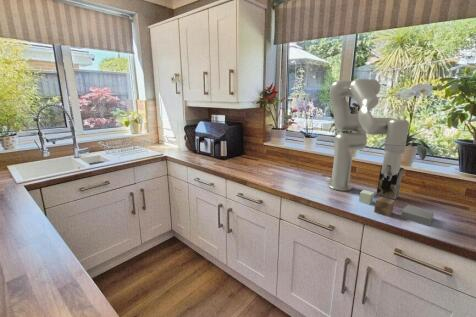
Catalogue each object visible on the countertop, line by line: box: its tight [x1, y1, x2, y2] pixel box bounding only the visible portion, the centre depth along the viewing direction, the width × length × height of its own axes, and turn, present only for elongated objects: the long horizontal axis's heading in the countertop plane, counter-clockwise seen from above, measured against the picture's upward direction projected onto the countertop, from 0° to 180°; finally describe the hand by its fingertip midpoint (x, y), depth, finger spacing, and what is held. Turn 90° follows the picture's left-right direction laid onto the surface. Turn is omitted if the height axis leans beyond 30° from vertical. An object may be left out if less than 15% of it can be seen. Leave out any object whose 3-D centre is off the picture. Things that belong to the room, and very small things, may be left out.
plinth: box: [400, 204, 435, 227], centre depth 110 cm, size 10×10×3 cm
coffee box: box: [375, 165, 405, 200], centre depth 134 cm, size 9×6×16 cm
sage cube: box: [358, 189, 375, 205], centre depth 127 cm, size 5×5×5 cm
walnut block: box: [373, 196, 396, 217], centre depth 115 cm, size 6×6×6 cm
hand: (389, 186), depth 112 cm, fingers open, 9 cm apart
